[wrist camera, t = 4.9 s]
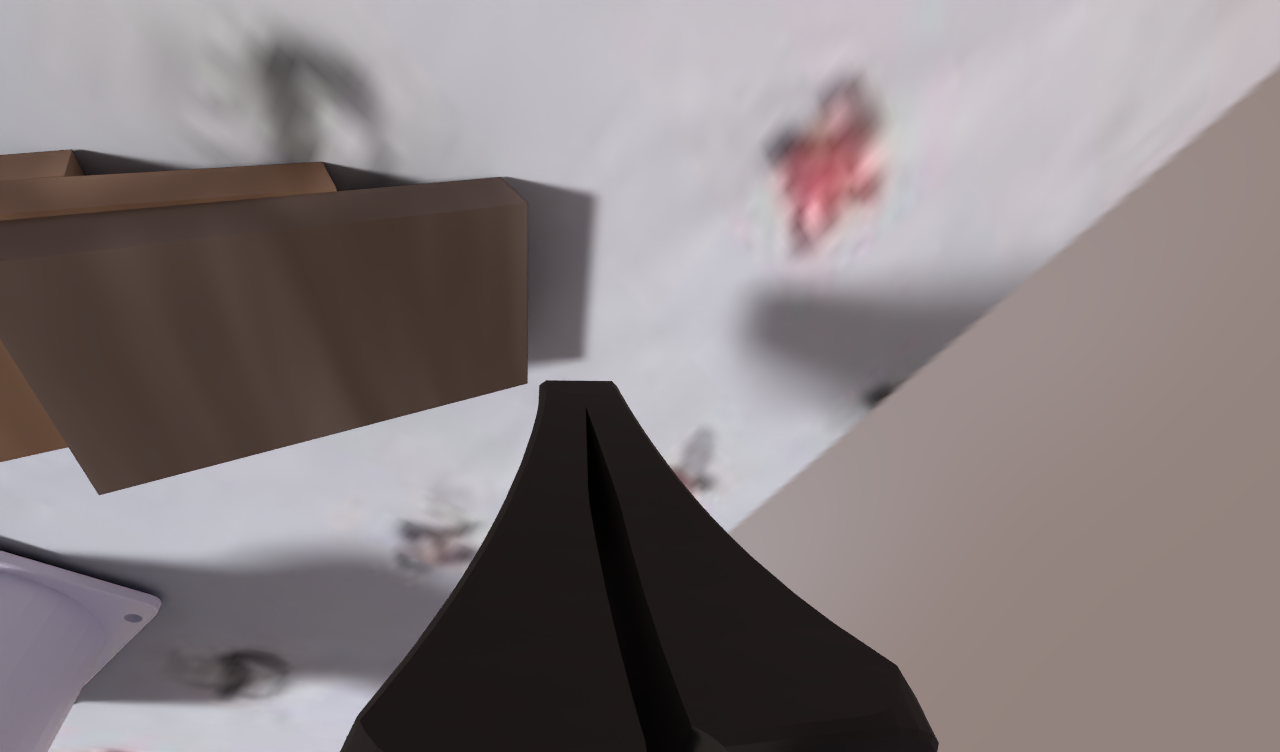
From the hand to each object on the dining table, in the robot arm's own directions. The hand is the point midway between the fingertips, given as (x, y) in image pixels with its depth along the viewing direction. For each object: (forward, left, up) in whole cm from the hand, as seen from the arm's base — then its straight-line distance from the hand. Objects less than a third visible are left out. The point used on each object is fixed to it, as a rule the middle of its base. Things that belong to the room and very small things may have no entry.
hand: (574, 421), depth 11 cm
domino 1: (-1, +1, -5) cm, 5 cm away
